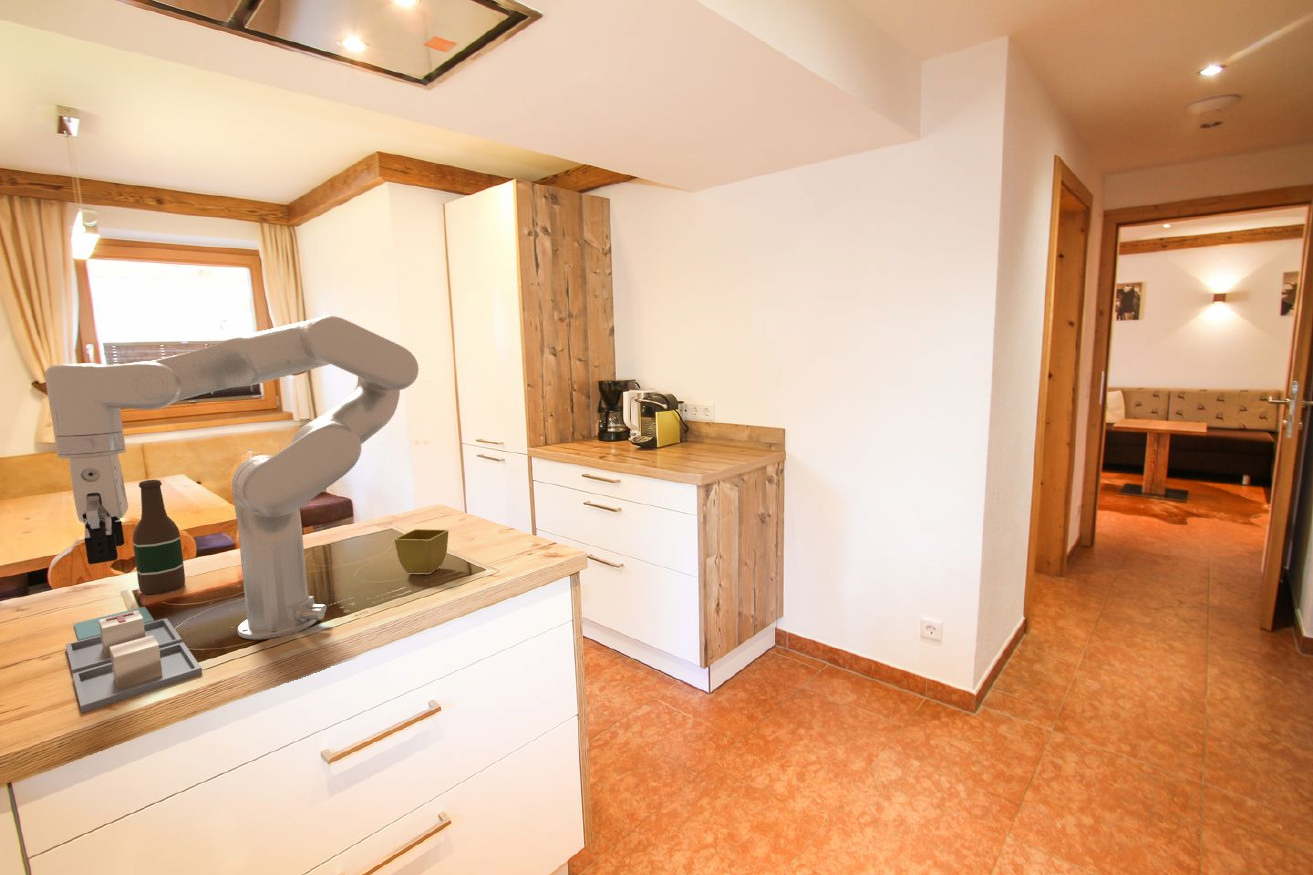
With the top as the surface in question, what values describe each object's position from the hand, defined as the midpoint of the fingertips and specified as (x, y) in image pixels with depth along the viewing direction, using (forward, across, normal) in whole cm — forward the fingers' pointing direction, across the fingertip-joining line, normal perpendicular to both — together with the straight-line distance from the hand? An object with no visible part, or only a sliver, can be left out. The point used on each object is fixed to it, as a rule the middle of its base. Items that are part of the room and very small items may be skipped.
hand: (107, 553), depth 90 cm
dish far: (+19, +8, 0) cm, 20 cm away
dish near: (+19, -7, -2) cm, 20 cm away
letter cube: (+18, +8, 0) cm, 20 cm away
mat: (+19, +22, +3) cm, 29 cm away
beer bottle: (+19, +40, -3) cm, 45 cm away
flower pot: (+19, +13, -51) cm, 56 cm away
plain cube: (+18, -7, -2) cm, 20 cm away
